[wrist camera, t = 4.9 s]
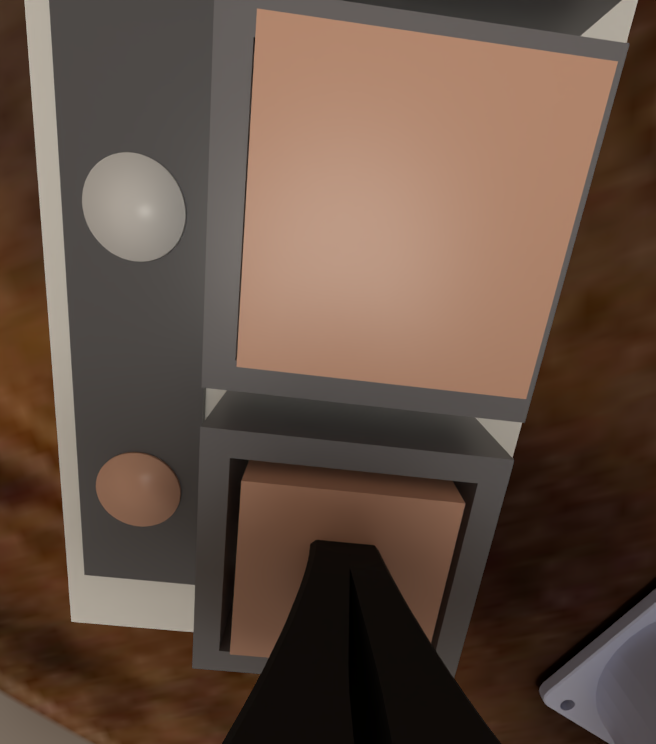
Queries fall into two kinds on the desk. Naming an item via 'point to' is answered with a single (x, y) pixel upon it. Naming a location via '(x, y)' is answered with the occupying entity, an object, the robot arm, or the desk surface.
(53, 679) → the desk surface
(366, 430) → the button board
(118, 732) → the desk surface
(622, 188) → the desk surface
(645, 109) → the desk surface
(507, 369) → the button middle
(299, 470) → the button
